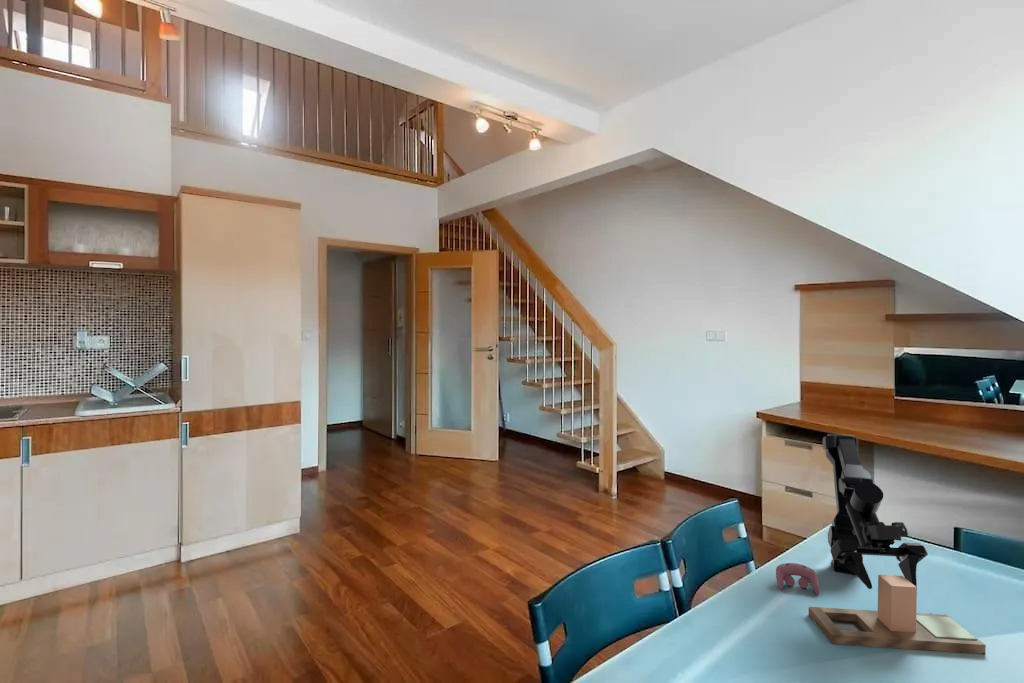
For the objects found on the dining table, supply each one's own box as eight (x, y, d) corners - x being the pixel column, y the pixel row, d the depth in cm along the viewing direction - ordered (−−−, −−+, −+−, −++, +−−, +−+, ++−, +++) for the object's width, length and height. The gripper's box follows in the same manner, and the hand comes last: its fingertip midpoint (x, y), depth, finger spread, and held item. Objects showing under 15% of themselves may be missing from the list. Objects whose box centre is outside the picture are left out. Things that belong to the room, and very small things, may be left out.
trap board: (831, 643, 109) (831, 633, 109) (808, 614, 120) (808, 605, 120) (985, 654, 106) (985, 643, 106) (946, 623, 117) (947, 613, 117)
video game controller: (817, 595, 132) (814, 566, 135) (821, 595, 128) (818, 565, 131) (775, 589, 135) (773, 560, 138) (778, 589, 131) (776, 560, 134)
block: (891, 630, 111) (891, 585, 110) (877, 617, 116) (878, 574, 115) (915, 632, 110) (916, 587, 110) (901, 619, 115) (902, 575, 115)
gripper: (837, 506, 120) (862, 574, 109) (923, 509, 118) (957, 579, 107) (820, 526, 128) (843, 591, 117) (901, 529, 126) (931, 596, 115)
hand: (892, 589), depth 114 cm, fingers open, 9 cm apart
